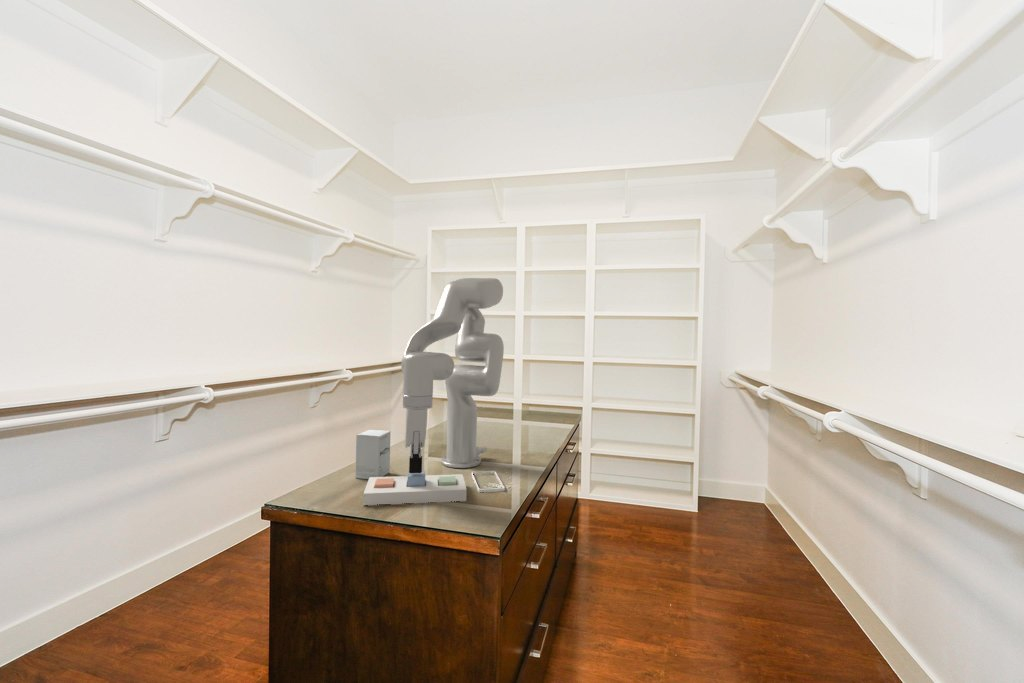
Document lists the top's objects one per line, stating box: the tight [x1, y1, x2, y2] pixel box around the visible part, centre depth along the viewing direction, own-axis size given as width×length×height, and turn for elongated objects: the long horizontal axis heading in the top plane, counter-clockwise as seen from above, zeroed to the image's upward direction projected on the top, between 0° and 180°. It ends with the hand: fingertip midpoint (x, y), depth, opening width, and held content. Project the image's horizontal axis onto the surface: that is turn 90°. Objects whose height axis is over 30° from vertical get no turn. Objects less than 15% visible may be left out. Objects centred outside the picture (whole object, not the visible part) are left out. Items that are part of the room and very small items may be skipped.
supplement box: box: [355, 429, 391, 480], centre depth 135 cm, size 7×7×13 cm
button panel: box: [362, 473, 467, 506], centre depth 121 cm, size 25×12×3 cm, turn 101°
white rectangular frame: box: [471, 470, 506, 494], centre depth 132 cm, size 7×1×15 cm
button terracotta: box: [375, 478, 394, 488], centre depth 120 cm, size 4×4×3 cm
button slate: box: [407, 470, 426, 487], centre depth 121 cm, size 4×4×3 cm
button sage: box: [439, 476, 456, 486], centre depth 123 cm, size 4×4×3 cm
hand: (415, 472), depth 121 cm, fingers closed
